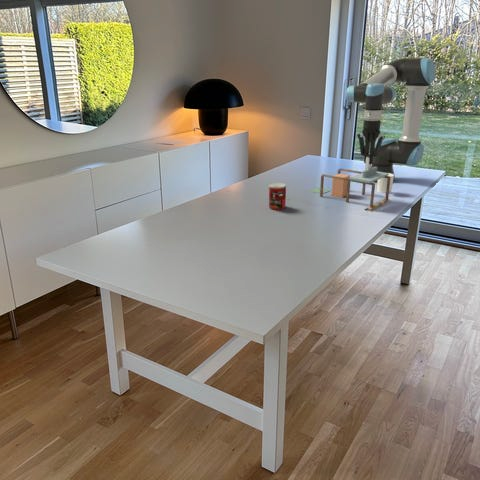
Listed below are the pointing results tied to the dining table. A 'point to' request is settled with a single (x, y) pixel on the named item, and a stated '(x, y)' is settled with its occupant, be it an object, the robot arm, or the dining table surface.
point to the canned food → (277, 196)
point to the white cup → (385, 184)
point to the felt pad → (317, 190)
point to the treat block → (340, 186)
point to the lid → (369, 175)
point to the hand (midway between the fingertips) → (367, 170)
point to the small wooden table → (362, 188)
